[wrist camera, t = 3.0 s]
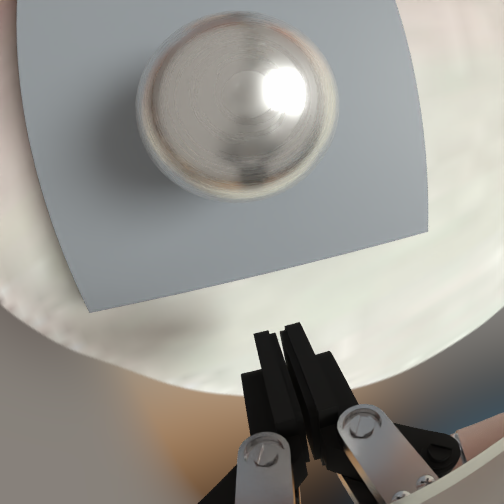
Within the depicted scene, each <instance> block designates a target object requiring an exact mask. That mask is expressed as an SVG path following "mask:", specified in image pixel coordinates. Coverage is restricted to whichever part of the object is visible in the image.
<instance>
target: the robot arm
mask: <svg viewBox="0 0 504 504" xmlns="http://www.w3.org/2000/svg"><path fill="white" fill-rule="evenodd" d="M280 336H281V341H282V346H283V351H284V356H285V360H284V357H283V354H282V351H281V348H280V345H279V342H278V339H277V336H276V333H272V334H269V331H268V330H267V331H263V332H259V333H255V334H254V338H255V343H256V347H257V351H258V356H259V360H260V364H261V368H262V369H260V370H256V371H252V372H247V373H243V374H241V379H242V386H243V392H244V398H245V405H246V411H247V417H248V423H249V429H250V435H251V436H250V437H248V438H247V439H246V440H245V441H243V443H242V444H241V446H240V448H239V451H238V459H237V465H236V466H235V467H234V468H233V469H232V470H231V471H230V472H229V473H228V474H227V475H226V476H225V477H224V478H223V479H222V480H221V481H220V482H219V483H218V484H217V485H216V486H215V487H214V488H213V489H212V490H211V491H210V492H209V493H208V494H207V495H206V496H205V497H204V498H203V499H202V500H201V501H200V502H199V503H198V504H301V498H300V487H299V486H300V485H301V483H302V482H303V481H304V479H305V478H306V477H307V475H308V474H307V468H306V462H310V459H309V452H308V446H307V439H308V442H309V445H310V448H311V451H312V454H313V457H314V460H317V459H321V462H322V465H326V468H327V470H330V471H333V472H335V473H337V474H338V477H339V479H340V480H341V482H342V483H343V485H344V487H345V488H346V490H347V492H348V493H349V495H350V497H351V498H352V500H353V501H354V503H355V504H504V413H501V414H499V415H496V416H493V417H491V418H489V419H486V420H484V421H481V422H479V423H476V424H473V425H471V426H468V427H465V428H463V429H460V430H457V431H456V433H454V434H452V435H447V434H444V433H438V432H433V431H428V430H423V429H418V428H413V427H409V426H404V425H400V424H396V423H392V422H391V421H390V419H389V418H388V417H387V416H386V414H385V413H384V412H383V411H382V410H381V409H379V408H378V407H375V406H373V405H368V404H361V405H359V404H358V402H357V400H356V398H355V397H354V395H353V393H352V391H351V389H350V387H349V385H348V383H347V381H346V379H345V378H344V376H343V374H342V372H341V370H340V368H339V366H338V364H337V362H336V361H335V359H334V357H333V355H332V353H331V352H330V351H327V352H324V353H320V354H317V355H315V353H314V351H313V349H312V347H311V345H310V343H309V341H308V338H307V336H306V334H305V332H304V330H303V328H302V326H301V324H300V322H298V323H295V324H291V325H287V326H285V330H284V331H280ZM285 362H286V363H285ZM306 436H307V439H306Z"/></svg>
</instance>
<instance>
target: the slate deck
mask: <svg viewBox="0 0 504 504" xmlns="http://www.w3.org/2000/svg"><path fill="white" fill-rule="evenodd" d="M225 11H252V12H258V13H263V14H267V15H270V16H274V17H276V18H278V19H281V20H283V21H286V22H287V23H289V24H291V25H293V26H294V27H296V28H297V29H299V30H300V31H301V32H303V33H304V34H305V35H307V36H308V37H309V38H310V39H311V40H312V41H313V42H314V43H315V44H316V45H317V47H318V48H319V49H320V50H321V52H322V53H323V54H324V56H325V58H326V59H327V61H328V63H329V65H330V67H331V69H332V71H333V74H334V76H335V80H336V83H337V87H338V93H339V118H338V125H337V129H336V132H335V136H334V138H333V141H332V143H331V145H330V147H329V149H328V151H327V153H326V154H325V156H324V158H323V159H322V160H321V161H320V163H319V164H318V165H317V167H316V168H315V169H314V170H313V171H312V172H311V173H310V174H309V175H308V176H307V177H306V178H305V179H303V180H302V181H301V182H299V183H298V184H297V185H296V186H294V187H292V188H290V189H289V190H287V191H285V192H283V193H281V194H278V195H276V196H274V197H271V198H267V199H264V200H260V201H254V202H248V203H226V202H218V201H213V200H209V199H205V198H203V197H200V196H197V195H194V194H192V193H190V192H188V191H186V190H184V189H182V188H181V187H180V186H178V185H177V184H175V183H174V182H172V181H171V180H170V179H169V178H168V177H166V176H165V175H164V174H163V173H162V172H161V171H160V170H159V168H158V167H157V166H156V165H155V164H154V162H153V161H152V159H151V158H150V156H149V155H148V153H147V152H146V149H145V147H144V145H143V143H142V141H141V138H140V135H139V131H138V128H137V121H136V109H135V102H136V94H137V88H138V85H139V81H140V78H141V75H142V73H143V71H144V68H145V66H146V64H147V63H148V61H149V59H150V58H151V56H152V55H153V53H154V52H155V51H156V50H157V48H158V47H159V46H160V45H161V44H162V43H163V42H164V41H165V40H166V39H167V38H168V37H169V36H170V35H171V34H172V33H174V32H175V31H177V30H178V29H179V28H181V27H182V26H184V25H186V24H188V23H190V22H191V21H193V20H196V19H198V18H201V17H204V16H206V15H210V14H214V13H218V12H225ZM17 53H18V68H19V78H20V87H21V95H22V102H23V109H24V115H25V121H26V127H27V132H28V137H29V142H30V146H31V151H32V155H33V159H34V163H35V167H36V171H37V175H38V179H39V182H40V186H41V190H42V193H43V196H44V200H45V203H46V206H47V209H48V212H49V215H50V218H51V221H52V224H53V227H54V230H55V233H56V235H57V238H58V241H59V244H60V246H61V249H62V251H63V254H64V256H65V259H66V261H67V264H68V266H69V269H70V271H71V273H72V276H73V278H74V280H75V283H76V285H77V287H78V289H79V291H80V294H81V296H82V298H83V300H84V302H85V304H86V306H87V308H88V310H89V312H90V313H91V312H96V311H101V310H106V309H110V308H115V307H120V306H125V305H130V304H134V303H139V302H144V301H148V300H153V299H157V298H162V297H166V296H171V295H176V294H180V293H184V292H189V291H193V290H198V289H202V288H207V287H211V286H215V285H220V284H224V283H228V282H232V281H237V280H241V279H245V278H249V277H254V276H258V275H262V274H266V273H270V272H274V271H278V270H282V269H287V268H291V267H295V266H299V265H303V264H307V263H311V262H315V261H319V260H323V259H327V258H331V257H334V256H338V255H342V254H346V253H350V252H354V251H358V250H361V249H365V248H369V247H373V246H377V245H380V244H384V243H388V242H392V241H395V240H399V239H403V238H406V237H410V236H414V235H417V234H421V233H425V232H428V183H427V165H426V152H425V141H424V131H423V123H422V115H421V108H420V102H419V96H418V90H417V84H416V79H415V74H414V69H413V64H412V60H411V55H410V51H409V47H408V43H407V39H406V35H405V32H404V28H403V24H402V21H401V18H400V14H399V11H398V8H397V5H396V2H395V0H17Z"/></svg>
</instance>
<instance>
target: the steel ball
mask: <svg viewBox="0 0 504 504" xmlns="http://www.w3.org/2000/svg"><path fill="white" fill-rule="evenodd" d="M135 109H136V121H137V128H138V131H139V135H140V138H141V141H142V143H143V145H144V147H145V149H146V152H147V153H148V155H149V156H150V158H151V159H152V161H153V162H154V164H155V165H156V166H157V167H158V168H159V170H160V171H161V172H162V173H163V174H164V175H165V176H166V177H168V178H169V179H170V180H171V181H172V182H174V183H175V184H177V185H178V186H180V187H181V188H182V189H184V190H186V191H188V192H190V193H192V194H194V195H197V196H200V197H203V198H205V199H209V200H213V201H218V202H226V203H248V202H254V201H260V200H264V199H267V198H271V197H274V196H276V195H278V194H281V193H283V192H285V191H287V190H289V189H290V188H292V187H294V186H296V185H297V184H298V183H299V182H301V181H302V180H303V179H305V178H306V177H307V176H308V175H309V174H310V173H311V172H312V171H313V170H314V169H315V168H316V167H317V165H318V164H319V163H320V161H321V160H322V159H323V158H324V156H325V154H326V153H327V151H328V149H329V147H330V145H331V143H332V141H333V138H334V136H335V132H336V129H337V125H338V118H339V93H338V87H337V83H336V80H335V76H334V74H333V71H332V69H331V67H330V65H329V63H328V61H327V59H326V58H325V56H324V54H323V53H322V52H321V50H320V49H319V48H318V47H317V45H316V44H315V43H314V42H313V41H312V40H311V39H310V38H309V37H308V36H307V35H305V34H304V33H303V32H301V31H300V30H299V29H297V28H296V27H294V26H293V25H291V24H289V23H287V22H286V21H283V20H281V19H278V18H276V17H274V16H270V15H267V14H263V13H258V12H252V11H225V12H218V13H214V14H210V15H206V16H204V17H201V18H198V19H196V20H193V21H191V22H190V23H188V24H186V25H184V26H182V27H181V28H179V29H178V30H177V31H175V32H174V33H172V34H171V35H170V36H169V37H168V38H167V39H166V40H165V41H164V42H163V43H162V44H161V45H160V46H159V47H158V48H157V50H156V51H155V52H154V53H153V55H152V56H151V58H150V59H149V61H148V63H147V64H146V66H145V68H144V71H143V73H142V75H141V78H140V81H139V85H138V88H137V94H136V102H135Z"/></svg>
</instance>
